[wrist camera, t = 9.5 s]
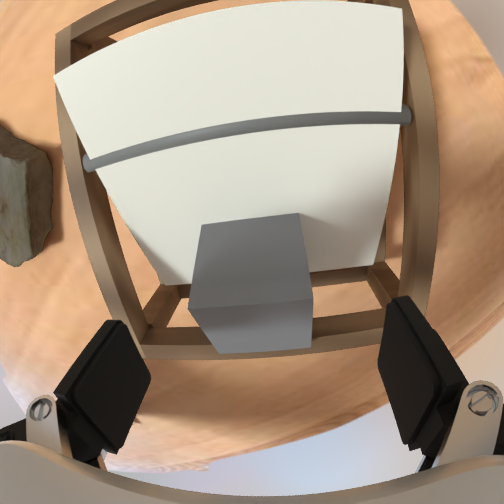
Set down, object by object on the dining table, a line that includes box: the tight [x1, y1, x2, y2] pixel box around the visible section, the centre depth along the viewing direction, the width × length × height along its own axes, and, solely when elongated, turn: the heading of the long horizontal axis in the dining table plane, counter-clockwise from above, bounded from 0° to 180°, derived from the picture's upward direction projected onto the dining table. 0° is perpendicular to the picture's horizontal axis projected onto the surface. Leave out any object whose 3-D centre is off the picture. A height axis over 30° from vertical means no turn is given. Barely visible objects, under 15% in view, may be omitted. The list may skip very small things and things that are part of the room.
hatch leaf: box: [53, 0, 411, 286], centre depth 14 cm, size 15×15×5 cm
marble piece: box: [0, 126, 53, 267], centre depth 22 cm, size 17×15×4 cm
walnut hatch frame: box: [55, 0, 439, 360], centre depth 16 cm, size 21×18×10 cm
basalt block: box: [188, 213, 313, 354], centre depth 14 cm, size 5×5×5 cm
